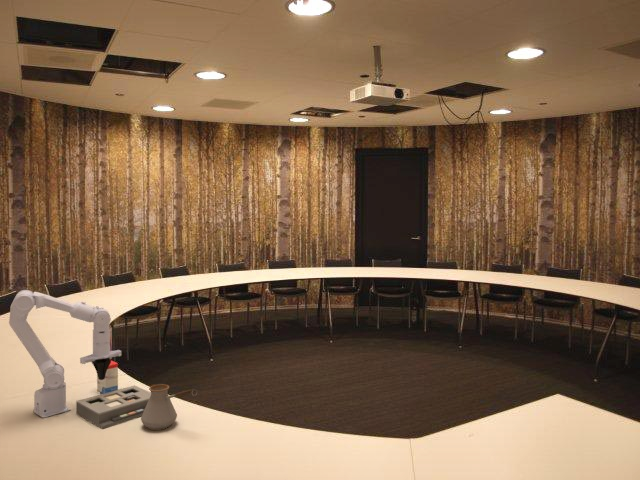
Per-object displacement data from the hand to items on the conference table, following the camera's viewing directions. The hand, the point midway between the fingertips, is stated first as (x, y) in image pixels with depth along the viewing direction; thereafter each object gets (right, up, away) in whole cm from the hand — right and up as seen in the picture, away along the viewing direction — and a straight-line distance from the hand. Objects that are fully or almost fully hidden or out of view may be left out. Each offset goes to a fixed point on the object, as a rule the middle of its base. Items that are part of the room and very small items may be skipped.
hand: (101, 379), depth 186 cm
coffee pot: (+31, -11, -19) cm, 38 cm away
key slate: (+10, -8, +2) cm, 13 cm away
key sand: (+6, -7, -3) cm, 10 cm away
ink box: (-4, -9, +14) cm, 17 cm away
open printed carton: (-23, -6, +52) cm, 57 cm away
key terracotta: (+13, -8, -5) cm, 16 cm away
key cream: (+9, -8, -10) cm, 15 cm away
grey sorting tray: (+9, -10, -6) cm, 15 cm away
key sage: (+1, -8, -8) cm, 12 cm away
